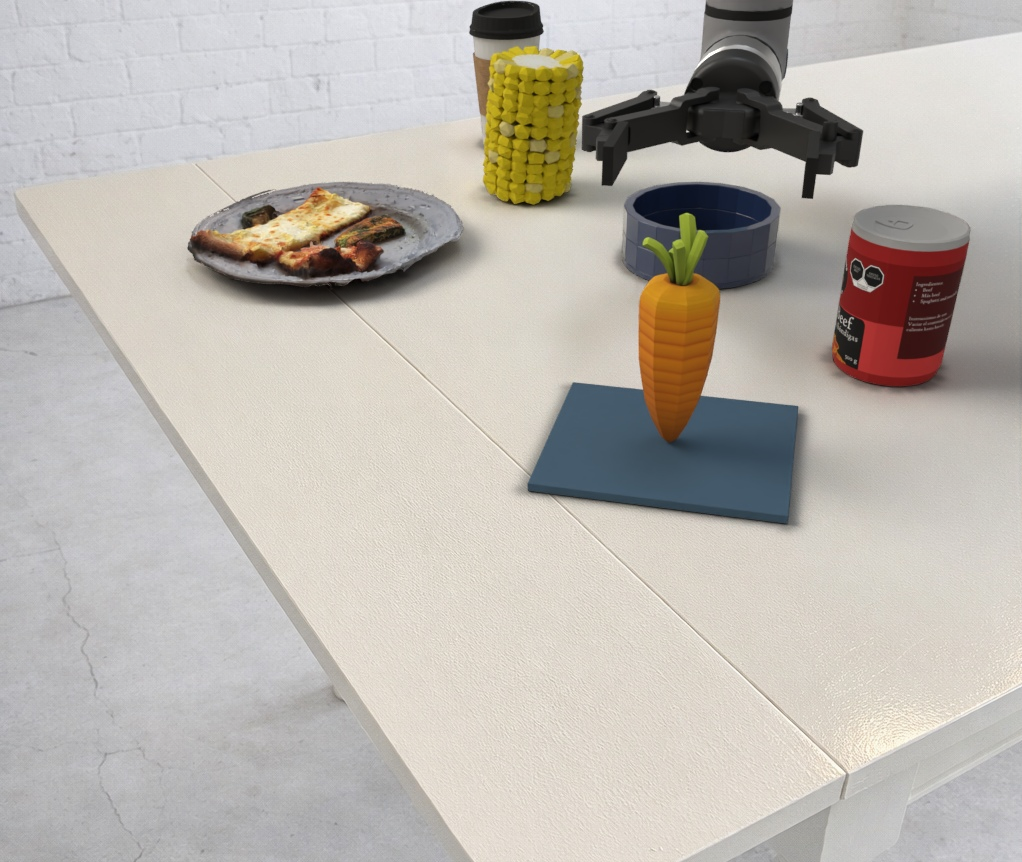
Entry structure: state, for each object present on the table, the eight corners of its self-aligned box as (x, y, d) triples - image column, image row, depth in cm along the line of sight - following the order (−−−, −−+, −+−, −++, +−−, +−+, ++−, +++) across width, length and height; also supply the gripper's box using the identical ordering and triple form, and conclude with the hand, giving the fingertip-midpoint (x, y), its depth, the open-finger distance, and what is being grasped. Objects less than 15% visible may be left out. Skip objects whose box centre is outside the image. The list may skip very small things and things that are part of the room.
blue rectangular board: (797, 413, 79) (798, 405, 78) (787, 524, 67) (788, 516, 67) (572, 389, 82) (572, 381, 82) (527, 491, 71) (527, 483, 70)
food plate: (319, 327, 91) (314, 286, 89) (139, 264, 103) (131, 226, 101) (506, 236, 108) (506, 200, 106) (332, 191, 120) (329, 158, 118)
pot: (777, 239, 106) (784, 186, 104) (768, 295, 95) (775, 238, 93) (634, 228, 109) (637, 177, 106) (610, 282, 98) (612, 226, 95)
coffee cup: (556, 139, 134) (558, 4, 126) (518, 158, 129) (516, 16, 120) (498, 129, 138) (496, -3, 130) (458, 146, 132) (453, 9, 124)
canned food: (835, 336, 89) (857, 199, 82) (941, 350, 86) (973, 210, 80) (823, 379, 83) (847, 234, 76) (938, 395, 80) (971, 247, 74)
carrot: (677, 470, 71) (696, 242, 63) (616, 443, 74) (626, 222, 66) (722, 440, 74) (745, 219, 66) (661, 415, 77) (676, 200, 69)
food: (514, 188, 125) (589, 210, 120) (447, 191, 116) (525, 216, 111) (537, 40, 118) (618, 58, 113) (469, 32, 109) (553, 51, 104)
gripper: (881, 149, 93) (889, 239, 76) (583, 133, 98) (527, 214, 81) (898, 52, 89) (909, 125, 71) (585, 41, 94) (527, 106, 77)
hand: (706, 172), depth 76 cm, fingers open, 13 cm apart
